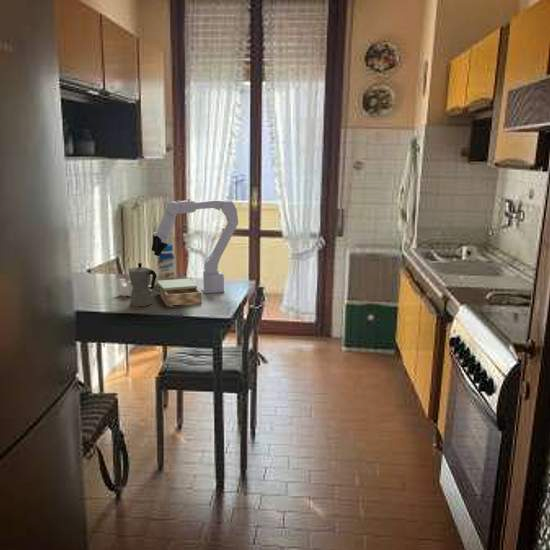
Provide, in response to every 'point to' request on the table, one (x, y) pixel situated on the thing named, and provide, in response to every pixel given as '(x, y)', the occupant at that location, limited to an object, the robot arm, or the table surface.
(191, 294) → the box
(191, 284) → the lid
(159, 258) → the beverage bottle
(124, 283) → the bracket
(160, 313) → the table surface
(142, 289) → the coffeepot
